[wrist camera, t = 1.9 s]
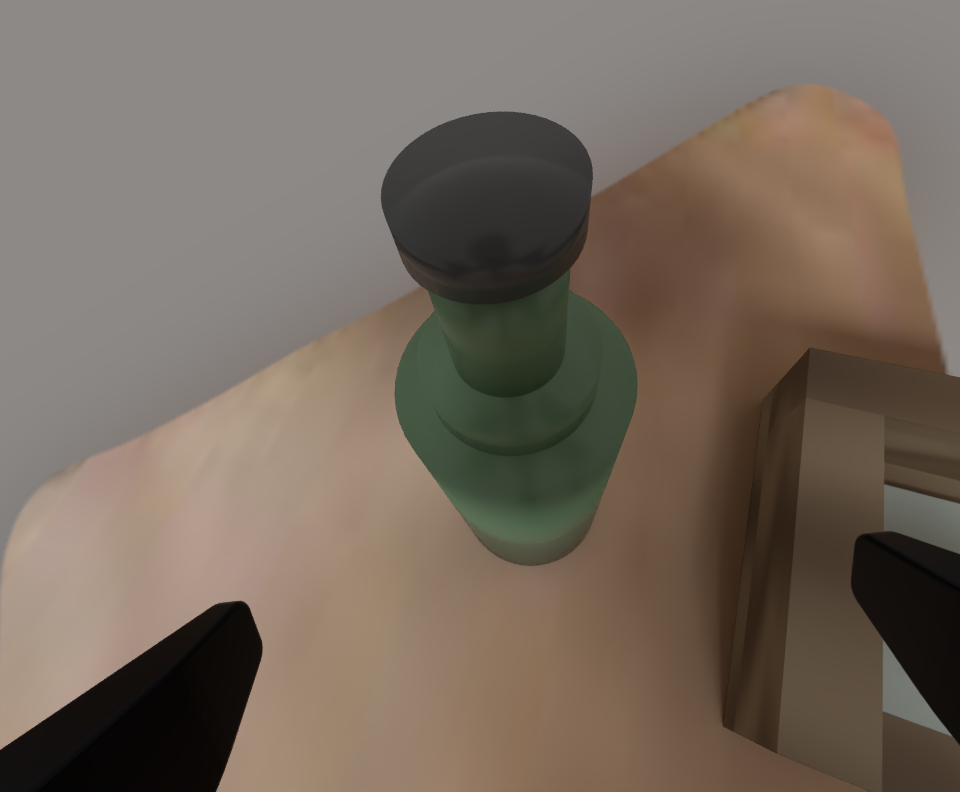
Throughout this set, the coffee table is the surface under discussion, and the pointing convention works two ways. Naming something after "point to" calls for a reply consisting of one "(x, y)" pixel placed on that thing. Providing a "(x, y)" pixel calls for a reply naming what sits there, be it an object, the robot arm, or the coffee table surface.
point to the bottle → (507, 332)
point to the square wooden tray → (842, 569)
